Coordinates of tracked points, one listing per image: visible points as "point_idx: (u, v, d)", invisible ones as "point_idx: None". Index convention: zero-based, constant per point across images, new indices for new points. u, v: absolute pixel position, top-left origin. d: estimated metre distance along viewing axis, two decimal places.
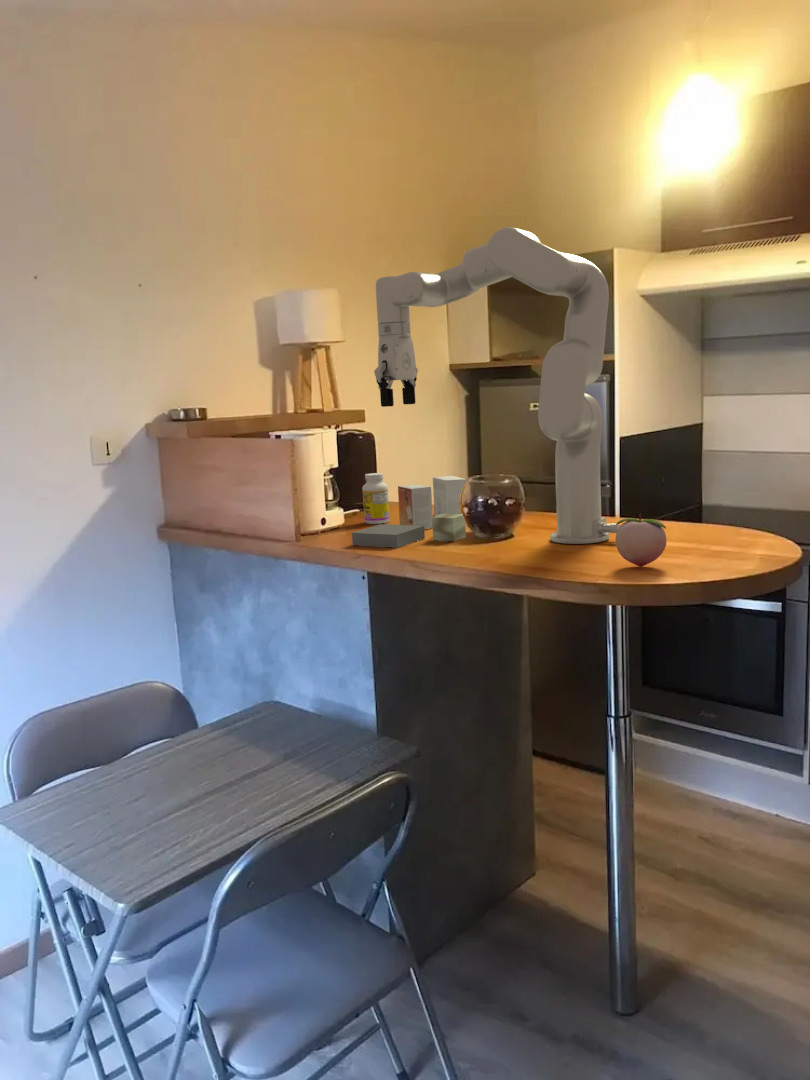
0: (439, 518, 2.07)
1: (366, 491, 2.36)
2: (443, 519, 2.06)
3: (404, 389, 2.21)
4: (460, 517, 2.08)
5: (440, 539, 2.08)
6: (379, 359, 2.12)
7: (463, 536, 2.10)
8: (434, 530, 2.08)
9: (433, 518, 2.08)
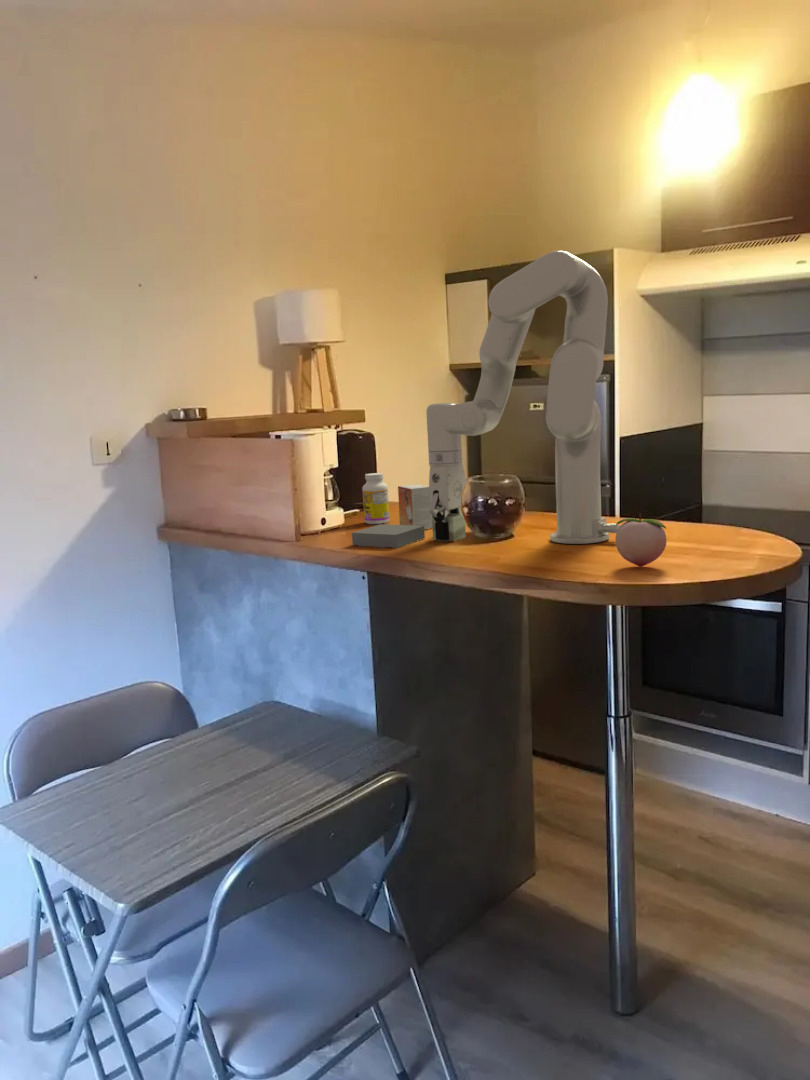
0: None
1: (366, 491, 2.36)
2: None
3: None
4: (460, 517, 2.08)
5: None
6: (430, 488, 2.04)
7: (463, 536, 2.10)
8: (434, 530, 2.08)
9: (433, 518, 2.08)
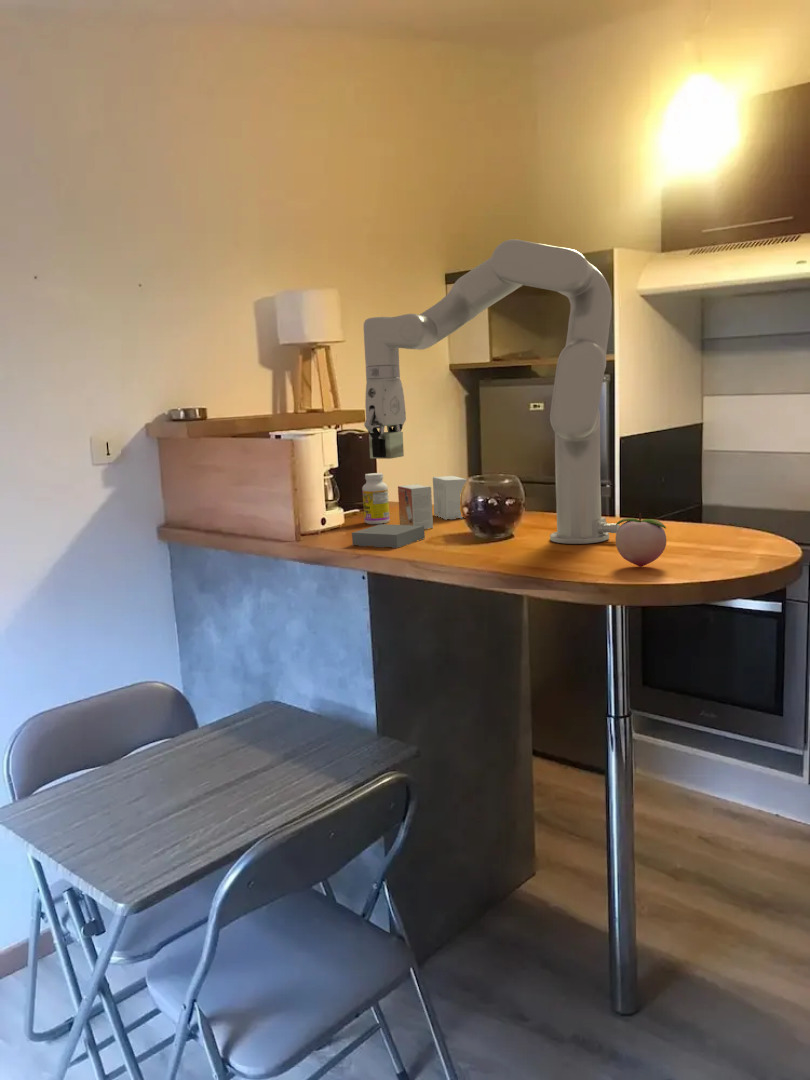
0: None
1: (366, 491, 2.36)
2: None
3: None
4: (397, 434, 2.05)
5: None
6: (366, 404, 2.01)
7: (401, 454, 2.07)
8: (371, 447, 2.05)
9: None
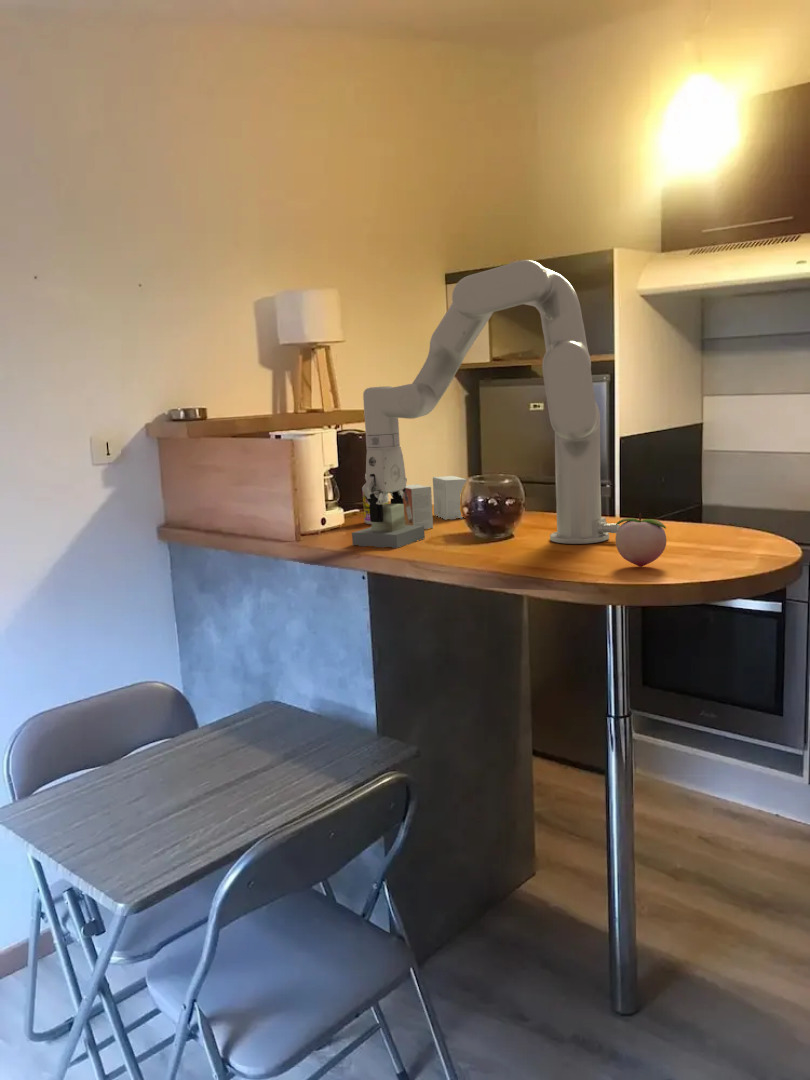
0: None
1: None
2: None
3: (392, 500, 2.12)
4: (399, 507, 2.08)
5: (379, 529, 2.08)
6: (367, 472, 2.04)
7: (402, 526, 2.09)
8: None
9: None
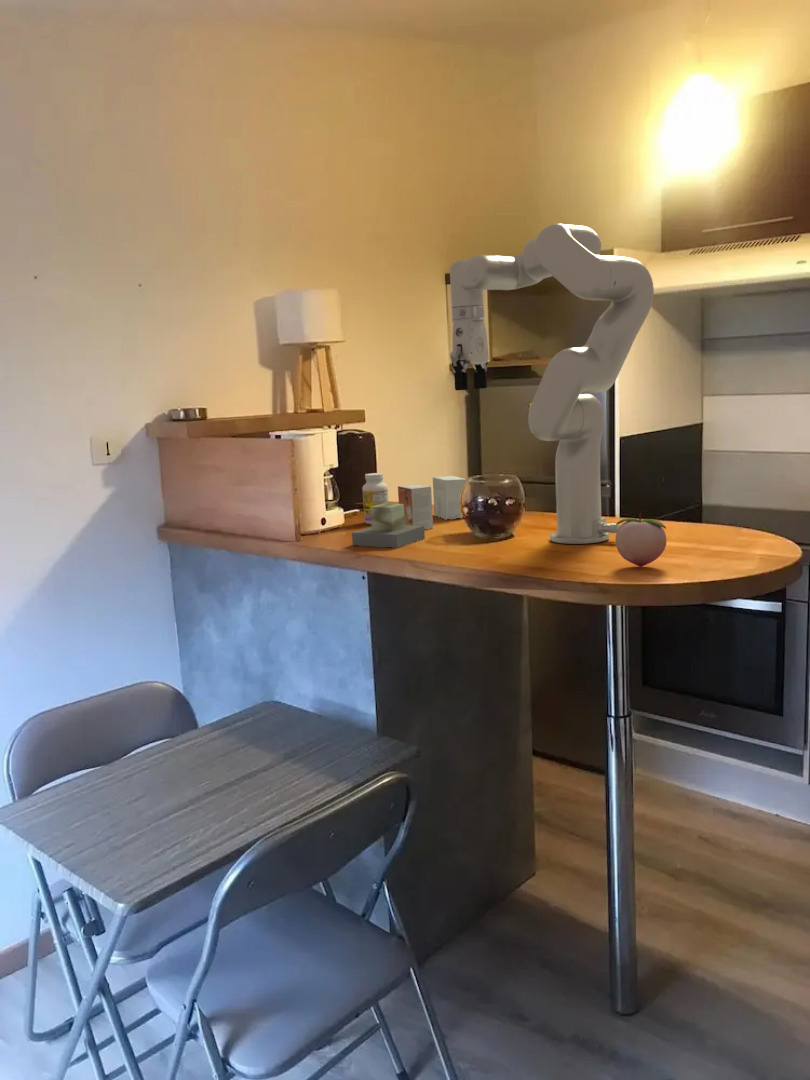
0: (377, 508, 2.07)
1: (366, 491, 2.36)
2: (381, 509, 2.06)
3: (475, 373, 2.21)
4: (399, 507, 2.08)
5: (379, 529, 2.08)
6: (454, 343, 2.13)
7: (402, 526, 2.09)
8: (373, 520, 2.08)
9: (371, 508, 2.08)
